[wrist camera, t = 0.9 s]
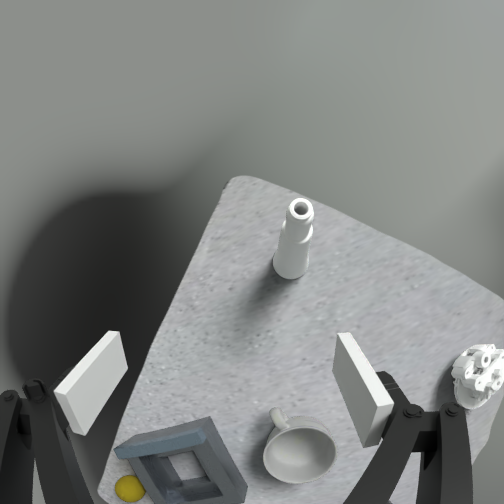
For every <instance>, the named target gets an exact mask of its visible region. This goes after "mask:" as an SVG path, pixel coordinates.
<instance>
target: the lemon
mask: <svg viewBox="0 0 504 504" xmlns="http://www.w3.org/2000/svg"><path fill="white" fill-rule="evenodd" d="M115 492H116V494H117V496H118V497H119V498H120V499H121V500H123V501H125V502H136V501H138V500H140V499H141V498H142V497H143V496H144V494H145V492H146V490H145V488H144V486H143V485H142V483H141V482H140V480H139V478H138V477H136V476H133V475H127V476H124V477H122V478H120V479H119V480H118V481H117V483H116V485H115Z"/></svg>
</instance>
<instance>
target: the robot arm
mask: <svg viewBox="0 0 504 504" xmlns="http://www.w3.org/2000/svg"><path fill="white" fill-rule="evenodd" d="M127 369H128V367H127V363H126V359H125V355H124V351H123V347H122V343H121V338H120V333H119V332H115V331H108V332H107V333H106V334H105V335H104V337H103V338H102V339H101V340H100V341H99V342H98V343H97V344H96V345H95V346H94V347H93V348H92V349H91V350H90V351H89V353H88V354H87V355H86V356H85V357H84V358H83V359H82V360H81V361H80V362H79V363H78V364H77V365H76V366H72V367H70V368H69V369H67V370H66V371H65V372H64V373H63V374H62V375H61V376H60V377H59V378H58V380H57V381H55V383H54V384H53V385H52V386H51V387H50V388H49V389H48V390H47V389H46V386H45V384H44V382H43V381H42V380H41V379H37V378H36V379H31V380H28V381H27V382H25V383H24V384H23V387H22V389H23V391H24V393H25V395H26V397H27V399H22V398H20V397H19V395H18V393H17V392H16V391H15V390H7V391H4V392H3V393H2V394H1V395H0V504H32V489H33V471H34V460H36V465H37V470H38V475H39V480H40V484H41V488H42V491H43V496H44V499H45V503H46V504H94V502H93V500H92V498H91V496H90V493H89V491H88V489H87V486H86V484H85V481H84V478H83V476H82V473H81V471H80V468H79V465H78V462H77V459H76V457H75V453H74V450H73V447H72V444H71V440H70V437H69V434H68V431H67V430H66V428H67V426H68V425H70V427H71V429H72V430H73V432H75V433H78V434H82V435H86V433H87V432H88V430H89V429H90V427H91V425H92V424H93V422H94V420H95V419H96V417H97V416H98V414H99V412H100V411H101V409H102V408H103V406H104V404H105V403H106V401H107V400H108V398H109V397H110V395H111V393H112V392H113V390H114V389H115V387H116V386H117V384H118V383H119V381H120V379H121V378H122V376H123V375H124V373H125V372H126V370H127ZM332 372H333V374H334V376H335V379H336V381H337V384H338V386H339V389H340V391H341V393H342V396H343V398H344V401H345V403H346V406H347V408H348V411H349V413H350V416H351V418H352V421H353V423H354V426H355V428H356V431H357V433H358V436H359V438H360V441H361V443H362V446H363V448H366V447H370V446H375V445H378V444H379V442H380V440H381V437H382V438H383V441H382V443H381V444H380V446H379V448H378V450H377V452H376V453H375V455H374V457H373V459H372V460H371V462H370V464H369V465H368V467H367V469H366V470H365V472H364V474H363V475H362V477H361V478H360V480H359V481H358V483H357V484H356V486H355V487H354V489H353V490H352V492H351V493H350V495H349V496H348V498H347V499H346V500H345V502H344V503H343V504H392V503H391V502H390V501H389V498H390V497H391V495H392V493H393V491H394V489H395V487H396V485H397V483H398V481H399V479H400V477H401V474H402V472H403V470H404V468H405V466H406V463H407V461H408V459H409V457H410V454H411V452H421V461H420V473H419V483H418V492H417V499H416V504H473V484H472V465H471V453H470V444H469V436H468V429H467V422H466V416H465V411H464V409H463V407H462V406H460V405H459V404H457V403H452V402H451V403H446V404H444V405H442V407H441V408H440V410H439V411H436V412H424V410H423V409H422V408H421V407H420V406H418V405H415V404H410V402H409V401H408V399H407V398H406V396H405V395H404V393H403V392H402V390H401V389H400V388H399V386H398V385H397V383H396V382H395V380H394V379H393V377H392V376H391V375H389V374H388V373H386V372H385V371H382V372H375V371H374V370H373V368H372V366H371V365H370V363H369V362H368V360H367V359H366V357H365V355H364V354H363V352H362V351H361V349H360V348H359V346H358V345H357V343H356V341H355V340H354V338H353V337H352V335H351V334H350V332H348V333H337V341H336V349H335V356H334V363H333V370H332Z"/></svg>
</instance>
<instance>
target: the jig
mask: <svg viewBox="0 0 504 504" xmlns="http://www.w3.org/2000/svg"><path fill="white" fill-rule="evenodd" d="M113 450H114V451H115V453H116V455H117V457H118V459H125V458H127V459H128V461H129V463H130V464H131V466H132V468H133V470H134V471H135V473H136V475H137V477H138V478H139V480H140V482H141V483H142V485H143V486H144V488H145V490H146V491H147V493H148V494H149V496H150V497H151V499H152V500H153V502H154V503H155V504H241V503H244V502H245V497H246V493H247V488H248V486H247V484H246V482H245V481H244V479H243V477H242V475H241V474H240V472H239V470H238V468H237V467H236V465H235V463H234V461H233V460H232V458H231V456H230V454H229V452H228V450H227V448H226V447H225V445H224V443H223V441H222V439H221V437H220V435H219V433H218V431H217V429H216V427H215V425H214V423H213V421H212V419H211V417H210V416H209V417H205V418H202V419H199V420H195V421H192V422H188V423H184V424H181V425H177V426H173V427H169V428H165V429H161V430H157V431H152V432H148V433H143V434H138V435H135V436H133V437H131V438H130V439H128V440H127V441H125V442H124V443H122V444H121V445H119V446H117V447H116V448H114V449H113ZM192 450H193V451H194V453H195V454H196V456H197V458H198V460H199V462H200V463H201V465H202V467H203V469H204V470H205V472H206V474H207V475H208V476H204V477H199V478H194V479H189V480H183V481H181V479H180V477H179V476H178V474H177V472H176V471H175V469H174V467H173V465H172V464H171V462H170V460H169V458H168V456H169V455H174V454H179V453H183V452H188V451H192Z"/></svg>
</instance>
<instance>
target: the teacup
mask: <svg viewBox="0 0 504 504" xmlns="http://www.w3.org/2000/svg"><path fill="white" fill-rule="evenodd" d="M269 414H270V417H271V419H272V421H273V423H274V425H275V426H276V427H275V428H274V429H273V430H272V432H271V433H270V435H269V437H268V440H267V443H266V446H265V449H264V452H263V462H264V466H265V468H266V470H267V471H268V472H269V473H270V474H271V475H272V476H273V477H274V478H276V479H278V480H280V481H282V482H286V483H291V484H302V483H308V482H312V481H315V480H317V479H319V478H321V477H323V476H324V475H326V474H327V473H328V472H329V471H330V470H331V469H332V467H333V466H334V464H335V462H336V460H337V455H338V448H337V445H336V442H335V440H334V439H333V436H332V434H331V432H330V431H329V429H328V428H327V427H326V425H325V424H323V423H322V422H321V421H319V420H317V419H315V418H312V417H307V416H297V417H292V418H288V417H287V416H286V415H285V413H284V412H283V411H282V409H281V408H280V407H274V408H272V409H271V410H270V412H269Z"/></svg>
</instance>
